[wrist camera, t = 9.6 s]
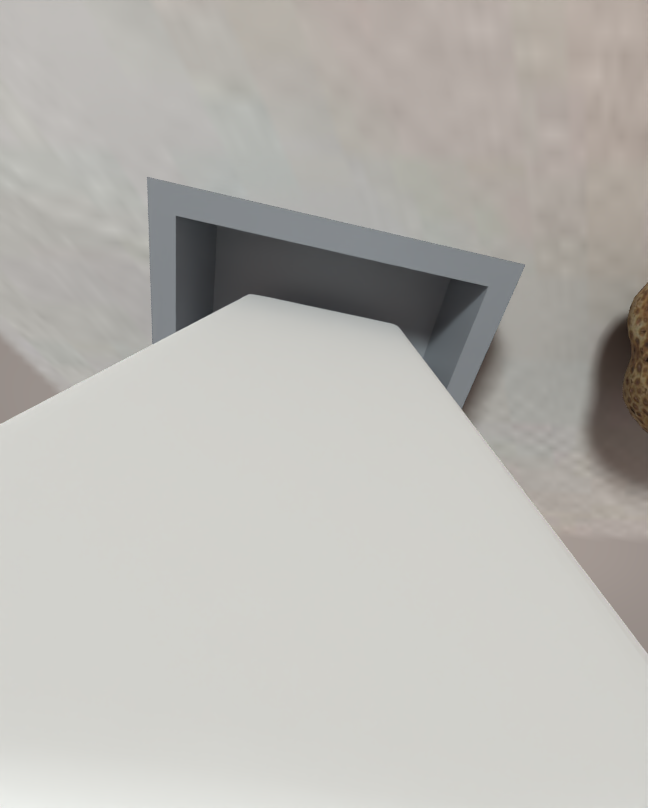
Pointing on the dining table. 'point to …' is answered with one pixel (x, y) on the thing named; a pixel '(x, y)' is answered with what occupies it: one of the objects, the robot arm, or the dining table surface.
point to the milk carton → (295, 591)
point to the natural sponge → (638, 360)
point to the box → (323, 274)
